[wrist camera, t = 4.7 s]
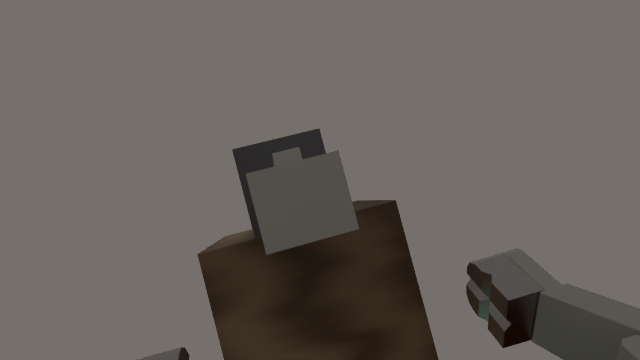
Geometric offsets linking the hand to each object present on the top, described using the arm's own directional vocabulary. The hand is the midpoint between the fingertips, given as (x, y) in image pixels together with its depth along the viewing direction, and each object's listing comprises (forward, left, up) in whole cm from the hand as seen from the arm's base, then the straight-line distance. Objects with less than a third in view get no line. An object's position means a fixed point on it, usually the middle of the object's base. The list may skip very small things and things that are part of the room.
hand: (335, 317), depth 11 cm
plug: (0, +12, +2) cm, 12 cm away
